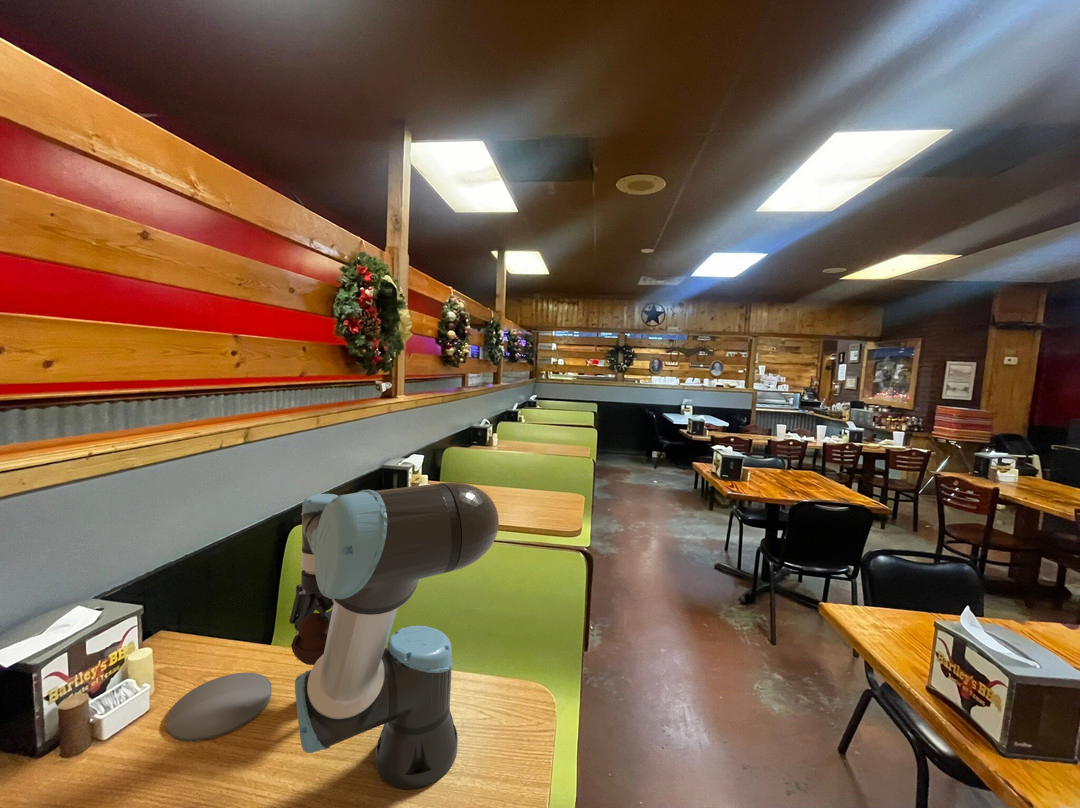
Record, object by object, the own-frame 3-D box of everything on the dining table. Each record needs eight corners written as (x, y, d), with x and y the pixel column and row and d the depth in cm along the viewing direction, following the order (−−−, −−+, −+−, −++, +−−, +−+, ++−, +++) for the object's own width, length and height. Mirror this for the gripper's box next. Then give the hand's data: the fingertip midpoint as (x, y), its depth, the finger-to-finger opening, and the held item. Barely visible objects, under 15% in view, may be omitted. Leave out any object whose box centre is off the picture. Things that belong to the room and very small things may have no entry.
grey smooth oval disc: (289, 696, 97) (289, 691, 97) (194, 756, 81) (194, 751, 81) (243, 666, 106) (243, 662, 106) (149, 716, 90) (149, 711, 90)
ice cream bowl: (333, 698, 91) (334, 627, 90) (279, 695, 91) (280, 624, 90) (355, 664, 101) (356, 601, 100) (307, 662, 101) (308, 598, 101)
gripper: (373, 573, 92) (371, 674, 94) (303, 549, 104) (302, 639, 105) (342, 588, 86) (340, 696, 87) (271, 560, 97) (271, 656, 98)
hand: (320, 665), depth 96 cm, fingers closed on ice cream bowl, 11 cm apart
